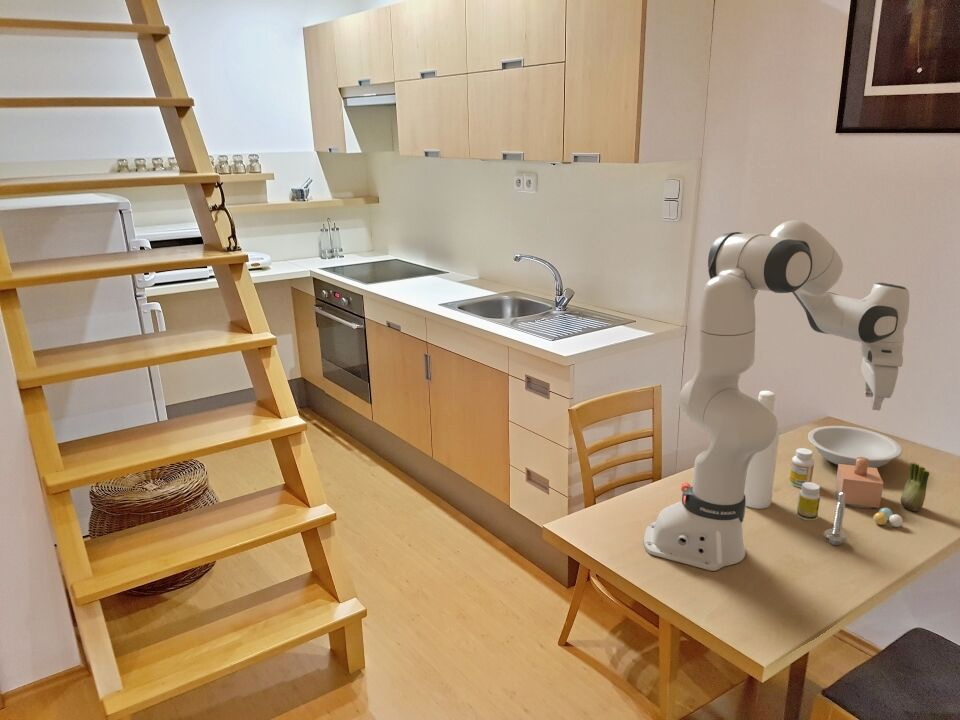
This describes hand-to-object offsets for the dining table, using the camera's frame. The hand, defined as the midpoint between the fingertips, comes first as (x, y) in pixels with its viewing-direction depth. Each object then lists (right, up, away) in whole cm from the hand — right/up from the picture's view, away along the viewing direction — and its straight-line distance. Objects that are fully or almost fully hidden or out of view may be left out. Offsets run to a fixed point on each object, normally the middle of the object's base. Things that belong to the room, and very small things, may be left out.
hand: (872, 402), depth 176 cm
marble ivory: (+3, -30, -5) cm, 30 cm away
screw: (-15, -32, -11) cm, 37 cm away
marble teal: (+2, -29, -2) cm, 29 cm away
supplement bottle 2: (-16, -28, 0) cm, 33 cm away
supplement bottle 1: (-10, -23, +17) cm, 30 cm away
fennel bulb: (+12, -27, +3) cm, 30 cm away
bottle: (-26, -26, +8) cm, 38 cm away
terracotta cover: (0, -25, +8) cm, 26 cm away
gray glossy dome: (0, -26, +8) cm, 27 cm away
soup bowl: (+9, -19, +28) cm, 36 cm away
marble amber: (0, -29, -4) cm, 30 cm away
